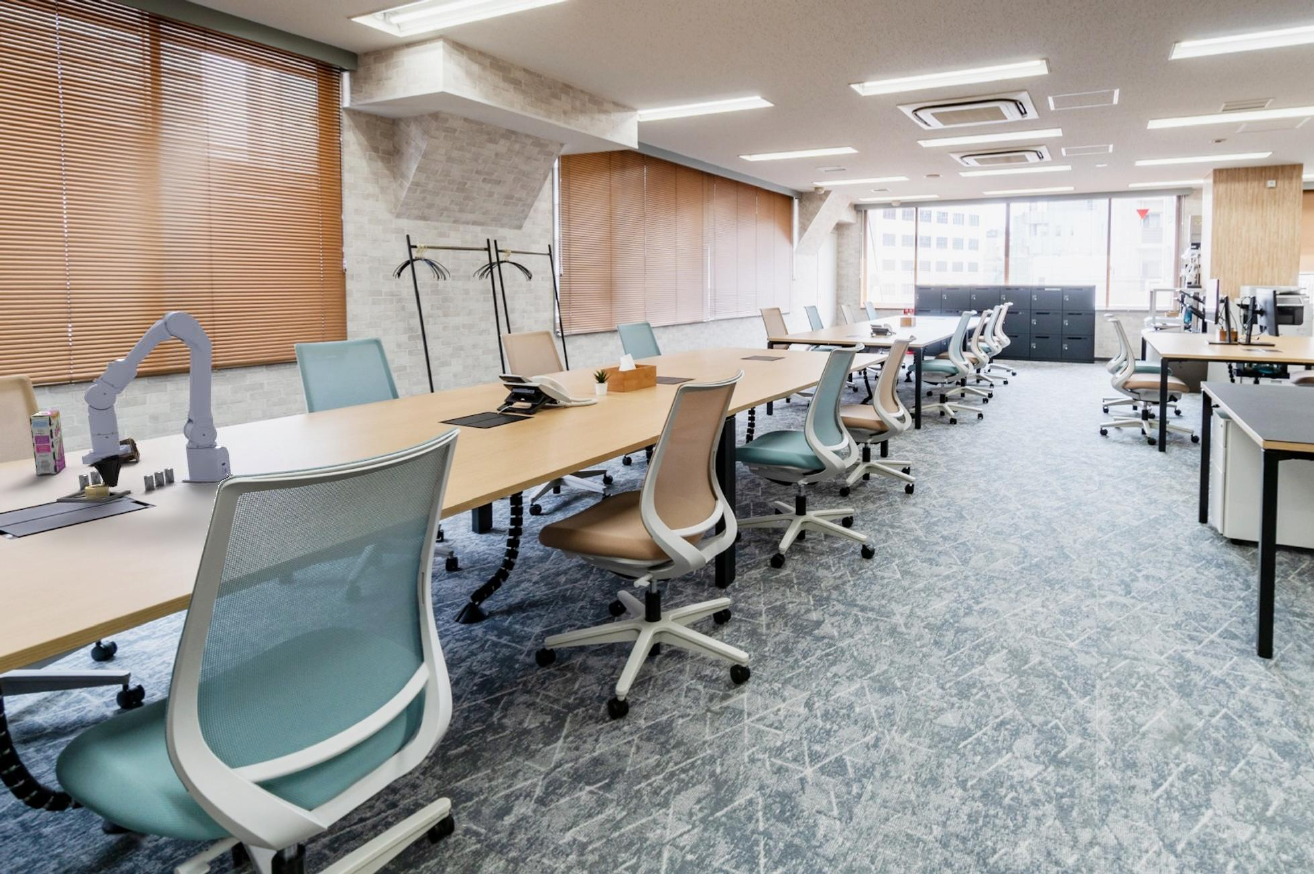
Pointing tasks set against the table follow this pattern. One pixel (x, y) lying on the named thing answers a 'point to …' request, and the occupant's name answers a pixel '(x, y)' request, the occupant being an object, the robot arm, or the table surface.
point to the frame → (71, 499)
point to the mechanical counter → (134, 451)
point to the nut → (97, 491)
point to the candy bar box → (47, 442)
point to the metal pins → (147, 479)
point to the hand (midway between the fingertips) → (111, 486)
